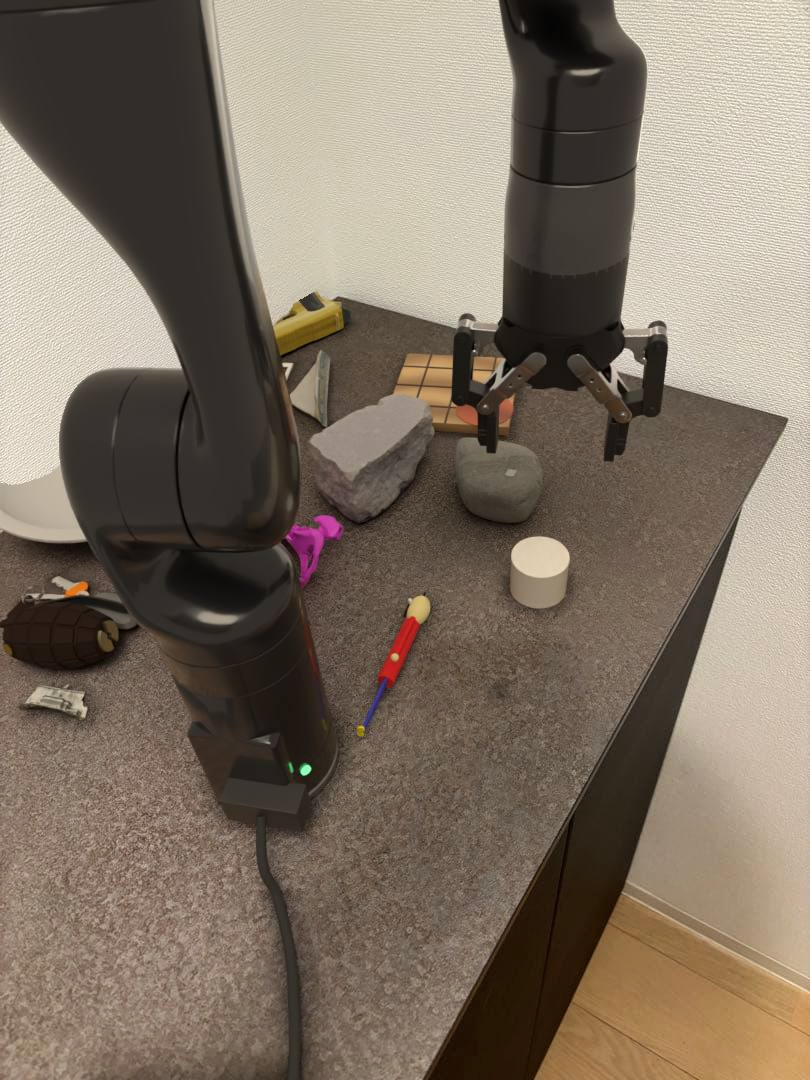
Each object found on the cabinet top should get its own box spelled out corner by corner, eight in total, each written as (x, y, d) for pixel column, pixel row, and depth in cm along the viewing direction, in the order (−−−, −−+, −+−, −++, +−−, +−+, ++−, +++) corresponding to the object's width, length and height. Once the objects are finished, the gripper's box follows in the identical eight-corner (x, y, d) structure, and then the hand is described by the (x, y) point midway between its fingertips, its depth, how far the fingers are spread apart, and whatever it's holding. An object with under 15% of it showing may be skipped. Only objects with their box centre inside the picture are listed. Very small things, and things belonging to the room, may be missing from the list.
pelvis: (267, 525, 79) (253, 474, 74) (350, 550, 76) (342, 498, 71) (195, 610, 72) (176, 558, 67) (285, 642, 68) (271, 590, 64)
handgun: (309, 295, 114) (360, 322, 107) (193, 342, 105) (240, 374, 98) (307, 279, 112) (359, 305, 105) (189, 324, 104) (236, 356, 97)
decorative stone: (301, 518, 80) (391, 537, 76) (287, 464, 75) (383, 481, 72) (360, 435, 89) (443, 448, 86) (351, 383, 85) (438, 394, 81)
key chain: (121, 623, 68) (127, 636, 69) (151, 598, 71) (156, 611, 71) (19, 594, 73) (25, 606, 74) (50, 571, 76) (55, 583, 77)
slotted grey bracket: (6, 701, 63) (23, 667, 65) (21, 713, 65) (37, 680, 66) (74, 710, 62) (89, 675, 63) (87, 721, 64) (101, 688, 65)
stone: (548, 462, 83) (548, 418, 74) (538, 542, 80) (537, 508, 71) (464, 455, 85) (453, 411, 76) (451, 533, 82) (439, 498, 73)
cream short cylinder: (564, 611, 69) (568, 580, 66) (506, 605, 69) (508, 574, 67) (567, 570, 72) (571, 538, 69) (512, 565, 73) (514, 533, 70)
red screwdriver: (347, 736, 61) (412, 598, 71) (373, 745, 60) (435, 605, 70) (347, 718, 59) (415, 579, 69) (374, 728, 58) (438, 586, 69)
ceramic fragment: (327, 429, 90) (322, 401, 87) (282, 432, 90) (276, 403, 87) (334, 365, 100) (330, 338, 98) (293, 368, 100) (288, 340, 98)
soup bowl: (204, 398, 94) (194, 353, 89) (240, 552, 80) (231, 509, 75) (-12, 437, 89) (-35, 391, 84) (-14, 608, 75) (-42, 566, 69)
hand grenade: (119, 684, 66) (4, 679, 68) (151, 615, 70) (43, 613, 73) (91, 645, 62) (-30, 641, 64) (127, 575, 67) (13, 574, 69)
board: (509, 437, 87) (510, 427, 86) (384, 428, 89) (383, 419, 89) (522, 367, 97) (522, 358, 96) (408, 361, 99) (407, 352, 98)
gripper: (439, 266, 46) (447, 477, 58) (694, 272, 44) (650, 491, 55) (458, 211, 51) (462, 415, 63) (687, 214, 49) (648, 426, 60)
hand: (550, 450), depth 59 cm, fingers open, 8 cm apart
